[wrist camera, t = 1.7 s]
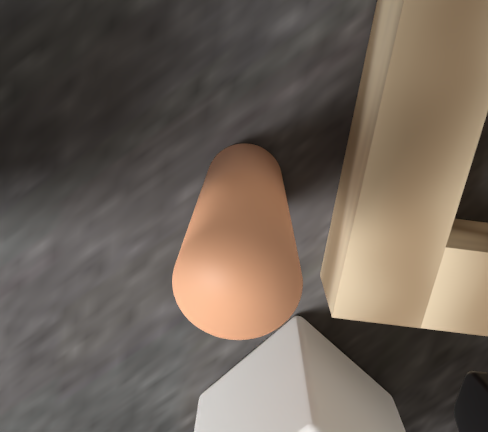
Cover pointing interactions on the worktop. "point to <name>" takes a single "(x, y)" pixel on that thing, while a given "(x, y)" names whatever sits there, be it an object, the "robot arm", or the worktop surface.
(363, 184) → the socket block
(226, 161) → the peg
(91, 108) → the worktop surface
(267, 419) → the medicine bottle
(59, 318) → the worktop surface
